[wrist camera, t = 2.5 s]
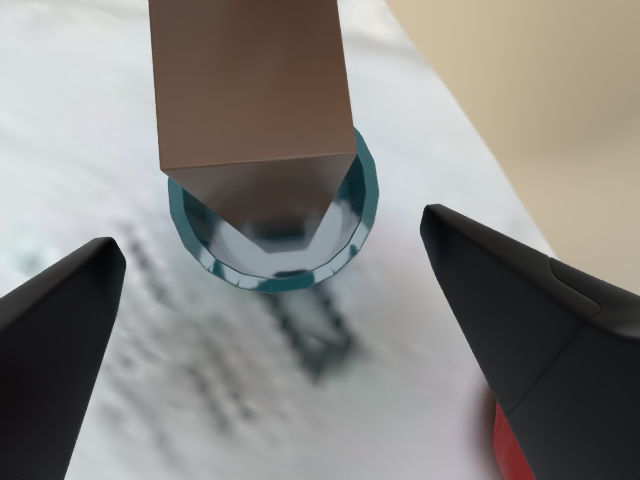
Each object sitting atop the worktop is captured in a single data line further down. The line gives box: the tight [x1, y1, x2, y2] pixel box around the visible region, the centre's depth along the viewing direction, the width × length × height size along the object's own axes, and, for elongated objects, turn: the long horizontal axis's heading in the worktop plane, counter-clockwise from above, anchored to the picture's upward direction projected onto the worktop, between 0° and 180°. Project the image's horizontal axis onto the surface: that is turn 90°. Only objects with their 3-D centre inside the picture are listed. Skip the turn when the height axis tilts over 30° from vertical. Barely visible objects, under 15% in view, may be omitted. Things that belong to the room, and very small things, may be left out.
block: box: [148, 0, 357, 240], centre depth 13 cm, size 4×4×13 cm
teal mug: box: [168, 127, 379, 294], centre depth 18 cm, size 13×10×4 cm
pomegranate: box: [493, 402, 535, 480], centre depth 15 cm, size 10×10×9 cm
